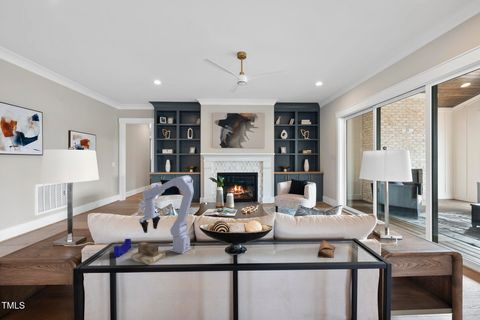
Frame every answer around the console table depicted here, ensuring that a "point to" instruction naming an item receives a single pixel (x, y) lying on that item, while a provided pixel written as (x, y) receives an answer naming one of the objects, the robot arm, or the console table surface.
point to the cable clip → (122, 248)
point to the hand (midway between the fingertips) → (150, 230)
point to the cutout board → (147, 260)
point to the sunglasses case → (326, 250)
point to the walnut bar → (148, 249)
